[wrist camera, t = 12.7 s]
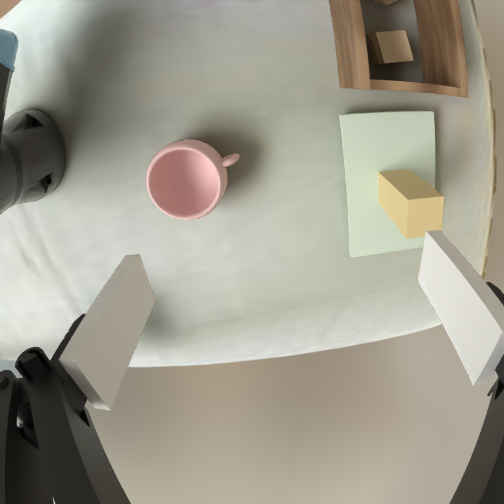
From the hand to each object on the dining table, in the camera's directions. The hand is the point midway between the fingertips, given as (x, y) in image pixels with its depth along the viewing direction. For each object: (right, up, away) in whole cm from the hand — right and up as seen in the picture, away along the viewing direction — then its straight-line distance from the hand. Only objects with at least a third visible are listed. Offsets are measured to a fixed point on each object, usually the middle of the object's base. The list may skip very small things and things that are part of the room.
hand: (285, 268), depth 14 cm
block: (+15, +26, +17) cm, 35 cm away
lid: (+17, +11, +26) cm, 33 cm away
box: (+15, +30, +15) cm, 37 cm away
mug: (-8, +12, +27) cm, 31 cm away
